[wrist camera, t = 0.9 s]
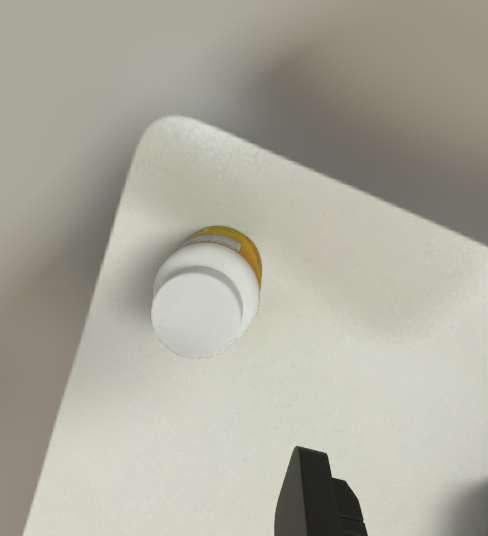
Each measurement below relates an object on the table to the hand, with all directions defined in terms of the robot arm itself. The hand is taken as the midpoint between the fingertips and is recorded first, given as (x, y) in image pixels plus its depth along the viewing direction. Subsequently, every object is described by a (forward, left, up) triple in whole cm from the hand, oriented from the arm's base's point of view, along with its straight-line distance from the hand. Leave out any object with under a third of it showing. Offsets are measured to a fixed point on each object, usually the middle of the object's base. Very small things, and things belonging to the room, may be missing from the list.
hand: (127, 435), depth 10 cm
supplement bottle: (0, 0, -18) cm, 18 cm away
